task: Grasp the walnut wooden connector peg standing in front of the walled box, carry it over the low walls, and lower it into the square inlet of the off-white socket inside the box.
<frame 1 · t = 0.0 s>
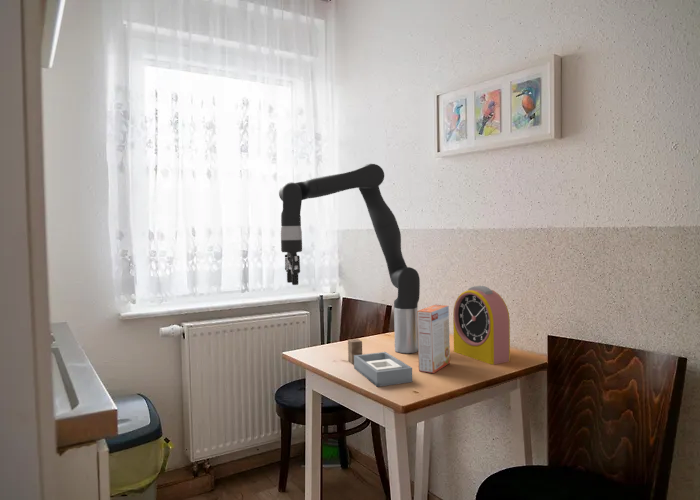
hand: (292, 283, 170), 29 cm above the table, fingers open, 8 cm apart
alarm clock: (480, 356, 176), on the table
connector peg: (355, 362, 172), on the table
walled box: (381, 374, 156), on the table
cracker box: (434, 368, 163), on the table
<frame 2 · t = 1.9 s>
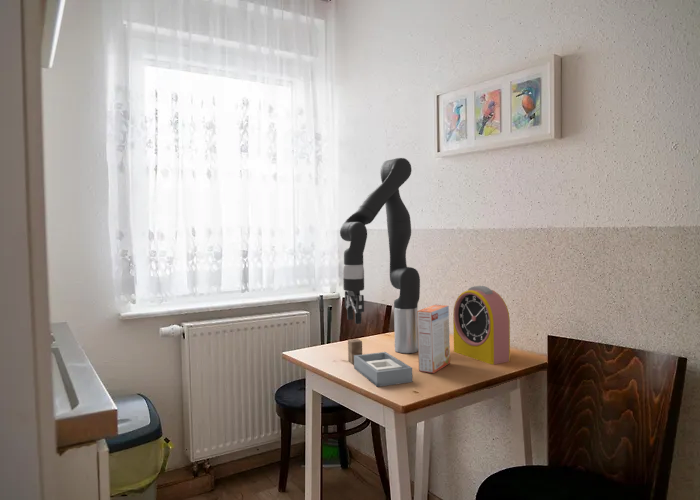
hand: (354, 321, 171), 15 cm above the table, fingers open, 8 cm apart
nothing on the table moved.
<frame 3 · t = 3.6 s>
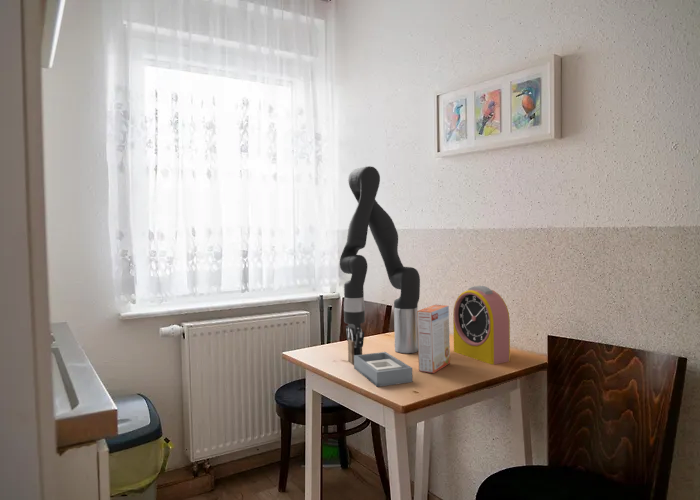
hand: (355, 355, 171), 2 cm above the table, fingers closed on connector peg, 4 cm apart
connector peg: (355, 362, 172), on the table, touching gripper
everything else where it was.
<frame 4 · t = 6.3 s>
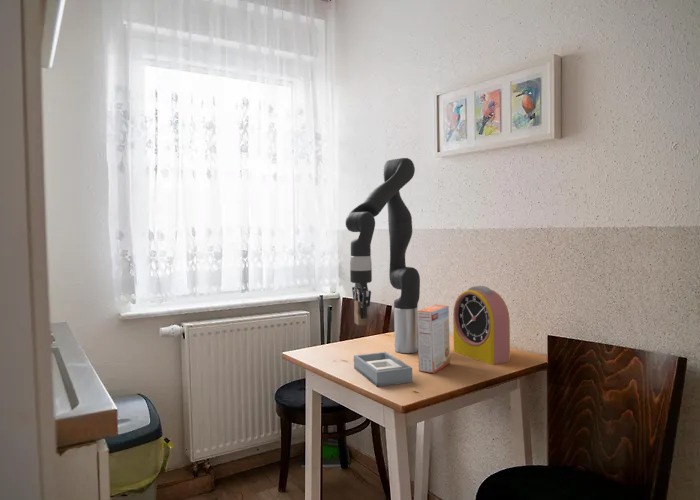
hand: (361, 317, 166), 17 cm above the table, fingers closed on connector peg, 4 cm apart
connector peg: (361, 323, 166), point 15 cm above the table, touching gripper
everything else where it was.
when the fingers open (5 cm above the table, at t = 9.0 s): connector peg drops 1 cm, resting on walled box.
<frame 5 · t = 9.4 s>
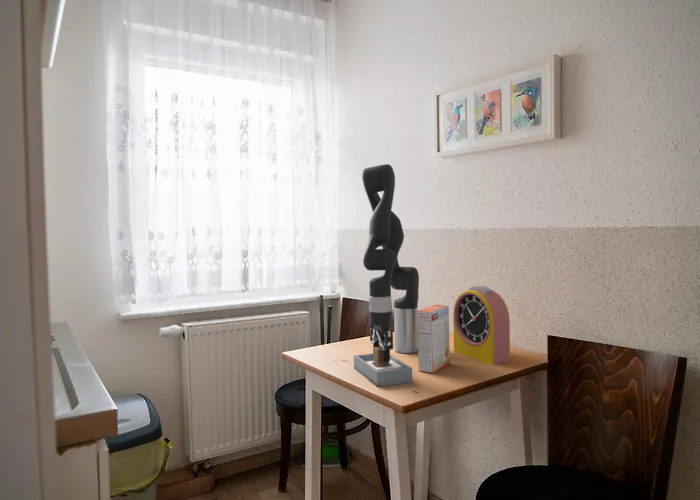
hand: (381, 358, 156), 6 cm above the table, fingers open, 8 cm apart
connector peg: (381, 371, 156), point 1 cm above the table, touching walled box
everything else where it was.
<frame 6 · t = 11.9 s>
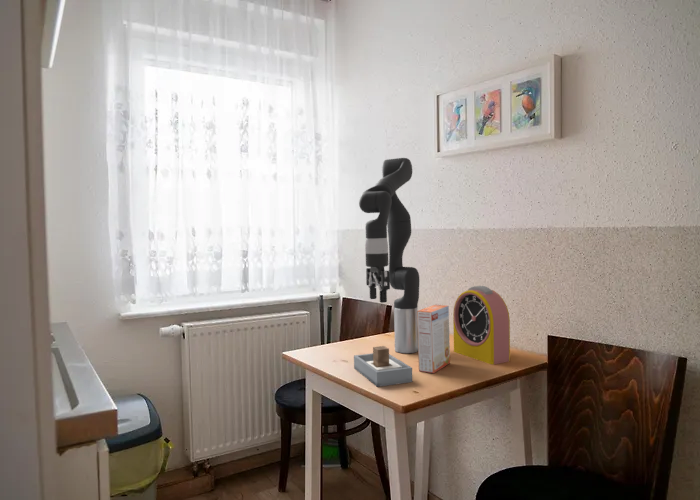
hand: (378, 300, 156), 25 cm above the table, fingers open, 8 cm apart
nothing on the table moved.
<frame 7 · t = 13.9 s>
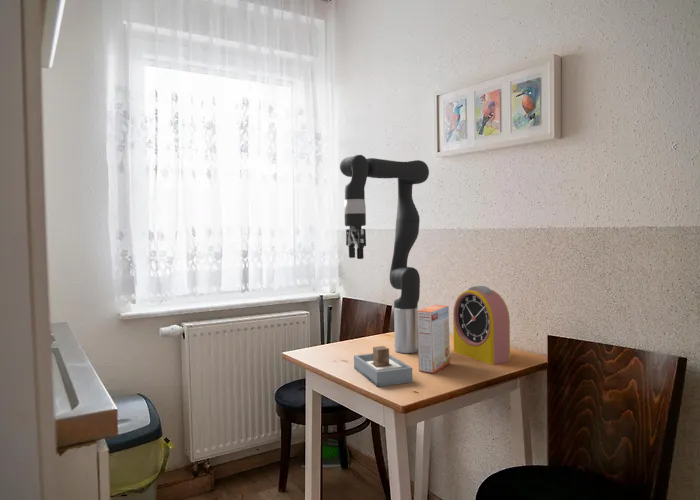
hand: (356, 258, 167), 38 cm above the table, fingers open, 8 cm apart
nothing on the table moved.
at the end: connector peg 0.1 cm off-centre on the walled box, point 1.0 cm above the walled box's base; connector peg tilted 0°; the gripper is holding nothing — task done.
